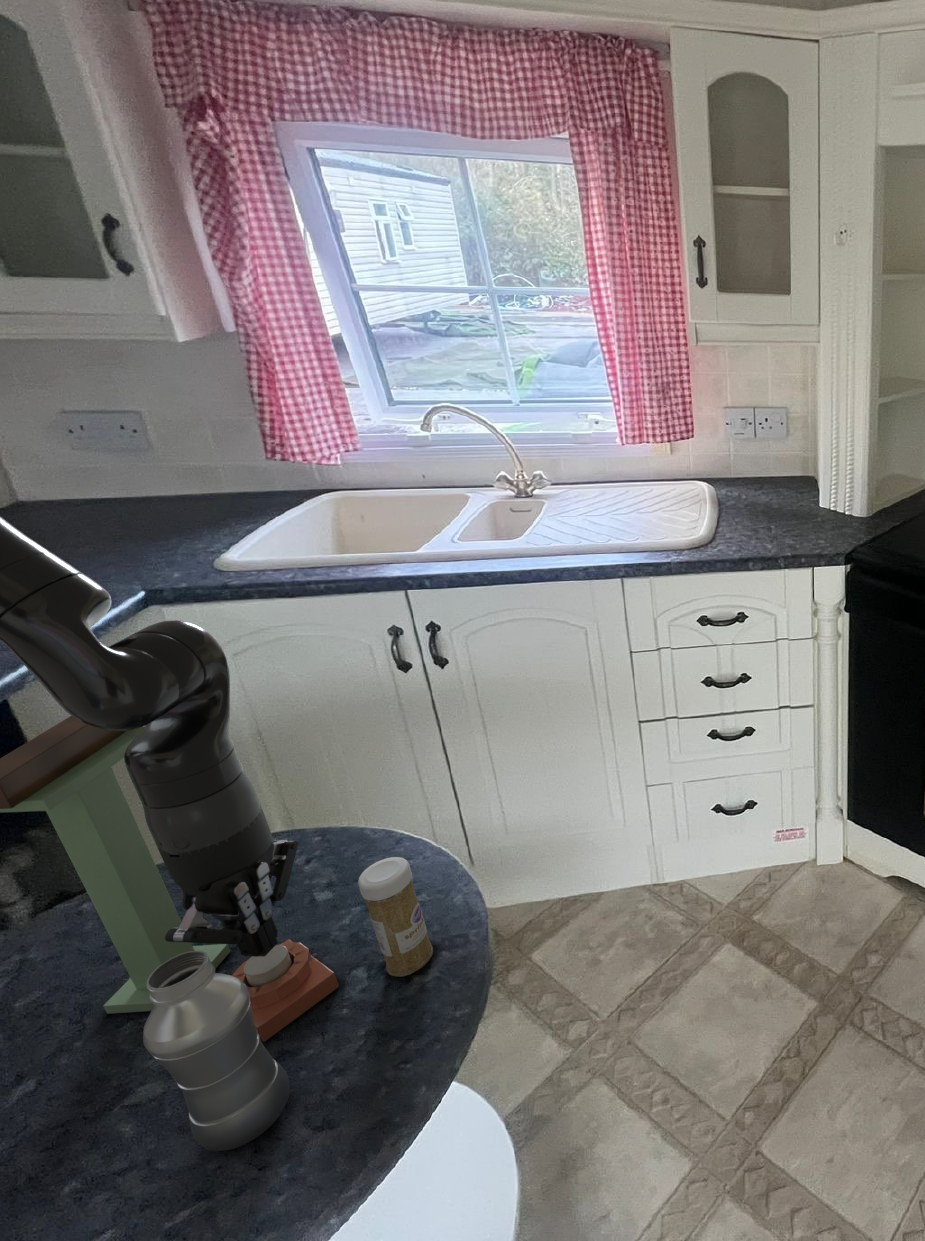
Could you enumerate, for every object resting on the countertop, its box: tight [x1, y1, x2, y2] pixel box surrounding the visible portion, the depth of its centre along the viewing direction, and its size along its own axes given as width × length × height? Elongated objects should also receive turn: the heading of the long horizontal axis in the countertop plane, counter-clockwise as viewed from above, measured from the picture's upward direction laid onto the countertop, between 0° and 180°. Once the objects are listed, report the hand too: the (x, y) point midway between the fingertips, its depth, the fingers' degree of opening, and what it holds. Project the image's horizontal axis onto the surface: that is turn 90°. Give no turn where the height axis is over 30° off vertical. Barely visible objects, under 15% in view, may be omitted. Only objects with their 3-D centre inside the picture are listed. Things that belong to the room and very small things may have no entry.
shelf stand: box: [0, 726, 231, 1015], centre depth 75 cm, size 11×7×30 cm, turn 6°
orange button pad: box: [231, 938, 340, 1043], centre depth 79 cm, size 9×7×4 cm
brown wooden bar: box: [0, 715, 128, 809], centre depth 73 cm, size 21×3×3 cm, turn 6°
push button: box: [243, 944, 292, 987], centre depth 78 cm, size 4×4×2 cm
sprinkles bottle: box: [357, 856, 434, 978], centre depth 82 cm, size 5×5×13 cm
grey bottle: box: [142, 950, 291, 1152], centre depth 65 cm, size 6×7×20 cm
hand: (262, 950), depth 77 cm, fingers closed
